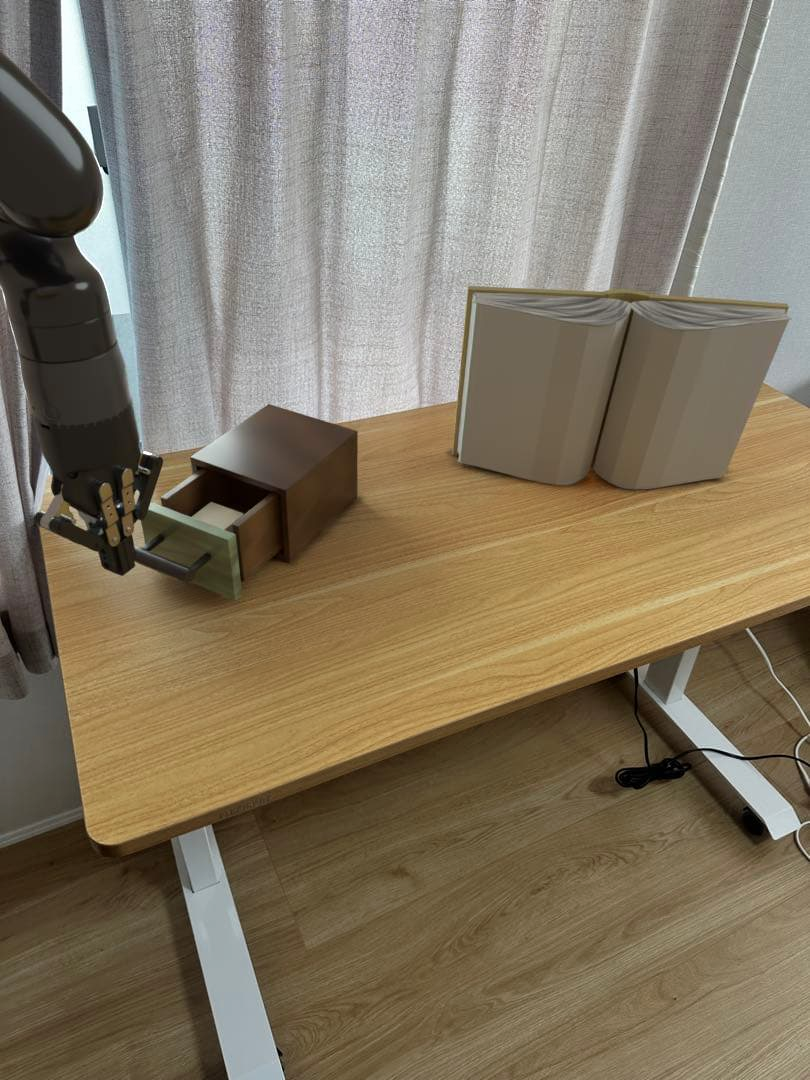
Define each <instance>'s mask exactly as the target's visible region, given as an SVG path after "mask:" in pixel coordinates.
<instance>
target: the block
mask: <svg viewBox="0 0 810 1080" xmlns="http://www.w3.org/2000/svg"><path fill="white" fill-rule="evenodd" d="M243 515H244V514H243V513H240V512H238V511H235V510H232V509H230V508H227V507H224V506H221V505H219V504H216V503H213V502H210V503H209V504H208V505H206V506H205V507H204V508H202V509H201V510H200V511H198V512H197V513H196V514H194V515H193V516H192V518H194V519H197V520H200V521H202V522H205V523H207V524H210V525H213V526H215V527H218V528H221V529H223V530H226V531H228V532H231V533H233V526H232V525H233V524H234V523H235V522H236V521H237V520H238V519H240V518H241V517H242V516H243Z"/></svg>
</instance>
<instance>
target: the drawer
mask: <svg viewBox="0 0 810 1080" xmlns="http://www.w3.org/2000/svg"><path fill="white" fill-rule="evenodd" d="M210 502H213V503H216V504H219V505H221V506H224V507H227V508H230V509H232V510H235V511H238V512H240V513H243V514H244V515H243V516H242V517H241V518H240V519H238V520H237V521H236V522H235V523H234V524H233V525H232V526H233V533H231V532H228V531H226V530H223V529H221V528H218V527H215V526H213V525H210V524H207V523H205V522H202V521H200V520H197V519H194V518H192V516H193V515H194V514H196V513H197V512H198V511H200V510H201V509H202V508H204V507H205V506H206V505H208V504H209V503H210ZM160 503H161V505H160V504H158V503H154V502H152V501H151V502H150V505H149V509H148V512H147V515H146V517H145V518H144V519H143V520H140V525H141V529H142V533H143V539H144V545H143V546H141V547H140V546H134V547H135V552H136V558H135V560H134V562H135V564H139V565H141V566H143V567H146V568H149V569H151V570H153V571H155V572H158V573H161V574H162V575H165V576H167V577H170V578H172V579H174V580H177V581H180V582H182V583H184V584H186V585H187V584H190V583H191V584H194V585H196V586H198V587H201V588H203V589H206V590H208V591H210V592H213V593H215V594H217V595H220V596H223V597H225V598H227V599H229V600H232V601H234V602H235V601H237V600H238V599H239V598H240V597H241V596H242V595H243V589H242V583H245V584H246V582H247V581H248V580H249V579H250V578H251V577H253V576H254V574H256V573H257V572H258V571H259V570H260V569H261V568H262V567H264V565H266V564H267V563H268V562H269V561H270V560H271V559H272V558H273V557H274V555H275V554H276V553H277V552H279V551H280V550H281V549H282V548H283V547H284V544H283V529H282V514H281V498H280V494H277V493H275V492H272V491H269V490H266V489H263V488H260V487H258V486H255V485H252V484H249V483H246V482H243V481H240V480H238V479H235V478H232V477H229V476H226V475H223V474H220V473H218V472H215V471H212V470H209V469H206V468H202V469H200V470H199V471H197V472H196V473H195V474H192V475H190V476H189V477H187V478H186V479H185V480H183V481H182V482H180V483H179V484H178V485H176V486H175V487H173V488H171V489H170V490H169V491H168V492H166V493H165V494H163V495H162V496H161V497H160Z"/></svg>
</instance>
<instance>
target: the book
mask: <svg viewBox="0 0 810 1080" xmlns="http://www.w3.org/2000/svg"><path fill="white" fill-rule="evenodd" d="M466 293H467V294H466V302H465V312H464V313H465V314H464V324H463V334H462V345H461V354H460V355H461V356H460V364H459V365H460V366H459V376H458V377H459V378H458V386H457V397H456V408H455V418H454V419H455V420H454V428H453V429H454V431H453V438H452V440H453V441H452V448H451V449H452V451H451V455H452V456H456V457H457V456H458V459H457V460H456V463H460V464H464V465H467V466H472V467H475V468H480V469H484V470H488V471H492V472H496V473H499V474H502V475H503V474H504V475H508V476H511V477H514V478H519V479H522V480H526V481H531V482H535V483H539V484H542V485H551V486H570V485H573V484H576V483H578V482H579V481H581V480H582V479H584V478H585V477H586V476H587V475H588V474H589V472H590V470H591V469H592V470H593V472H594V473H595V474H596V475H597V476H598V477H599V478H601V479H602V480H604V481H605V482H606V483H608V484H610V485H611V486H614V487H616V488H618V489H619V488H620V489H624V490H628V491H629V490H630V491H640V490H642V491H643V490H653V489H659V488H666V487H671V486H678V485H685V484H690V483H696V482H701V481H708V480H715V479H720V478H721V479H722V478H727V477H728V476H727V474H726V473H727V471H728V469H729V466H730V463H731V461H732V458H733V457H734V454H735V452H736V449H737V446H738V444H739V442H740V440H741V437H742V434H743V433H744V429H745V428H746V425H747V423H748V420H749V418H750V415H751V413H752V410H753V408H754V406H755V403H756V401H757V398H758V396H759V393H760V392H761V389H762V387H763V383H764V381H765V379H766V376H767V374H768V371H769V370H770V366H771V364H772V362H773V360H774V358H775V355H776V353H777V350H778V347H779V345H780V343H781V340H782V338H783V335H784V333H785V330H786V328H787V326H788V324H789V321H790V320H791V321H792V320H793V318H792V317H790V316H789V315H787V313H788V310H789V308H790V306H789V304H788V303H783V302H769V301H756V300H755V301H754V300H742V299H740V300H739V299H728V298H715V297H714V298H713V297H712V298H711V297H700V296H699V297H698V296H685V295H673V294H672V295H669V294H657V293H648V292H645V291H641V290H635V289H628V288H627V289H626V288H613V289H607V290H604V291H598V290H596V291H595V290H575V289H550V288H529V287H528V288H526V287H505V286H504V287H503V286H479V285H467V291H466Z"/></svg>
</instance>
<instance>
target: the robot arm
mask: <svg viewBox="0 0 810 1080" xmlns="http://www.w3.org/2000/svg"><path fill="white" fill-rule="evenodd" d="M104 183H105V182H104V178H103V173H102V169H101V167H100V164H99V162H98V159H97V157H96V155H95V153H94V151H93V149H92V148H91V146H90V145H89V143H88V141H87V140H86V138H85V137H84V136H83V134H82V133H81V132H80V130H79V129H78V128H77V127H76V125H75V124H74V123H73V122H72V120H71V119H70V118H68V116H67V115H66V114H65V112H63V110H61V108H59V106H58V105H57V104H56V103H55V102H54V101H53V100H52V99H51V98H50V97H49V96H48V95H47V94H46V93H45V92H44V91H43V90H42V89H41V88H40V86H38V85H37V84H36V83H35V82H34V81H33V80H32V79H31V78H30V77H29V76H28V75H27V74H26V73H25V72H24V71H23V69H21V68H20V67H19V66H18V65H17V64H16V63H15V62H14V61H13V60H12V59H11V58H10V57H8V56H7V55H6V54H5V53H4V52H3V51H2V50H1V49H0V289H1V291H2V295H3V299H4V304H5V309H6V313H7V316H8V320H9V323H10V326H11V327H10V328H11V331H12V334H13V338H14V342H15V346H16V349H17V353H18V358H19V366H20V367H19V369H20V375H21V381H22V385H23V389H24V392H25V396H26V399H27V403H28V407H29V410H30V414H31V417H32V422H33V425H34V428H35V432H36V436H37V439H38V442H39V446H40V450H41V454H42V456H43V458H44V460H45V462H46V463H47V465H48V466H49V468H50V471H51V475H52V477H51V483H50V490H51V494H52V495H53V499H52V500H51V502H50V504H49V506H48V508H47V510H46V511H44V510H39V511H38V512H36V513H35V515H34V517H33V523H34V524H35V525H36V526H38V527H40V528H43V529H45V530H47V531H49V532H51V533H53V534H56V535H57V536H60V537H62V538H64V539H65V540H68V541H70V542H72V543H74V544H77V545H80V546H82V547H85V548H87V549H89V550H90V551H92V552H95V553H98V557H99V560H100V564H101V567H102V568H103V569H104V570H106V571H109V572H111V573H113V574H115V575H118V576H120V577H123V576H125V575H126V574H127V573H129V572H130V571H132V569H134V568H135V567H136V562H134V560H135V558H136V552H135V547H136V546H135V543H134V538H133V534H134V531H135V524H136V523H137V521H141V520H143V519H144V518H145V517H146V515H147V512H148V509H149V505H150V502H152V499H153V496H154V494H155V493H154V492H155V490H156V486H157V483H158V480H159V477H160V474H161V471H162V468H163V465H164V460H163V457H162V456H161V455H157V454H154V453H151V452H148V451H145V450H142V449H140V442H141V441H140V434H139V433H140V432H139V428H138V423H137V417H136V414H135V413H136V412H135V407H134V403H133V397H132V392H131V387H130V382H129V376H128V370H127V367H126V362H125V359H124V357H123V353H122V351H121V348H120V345H119V341H118V338H117V332H116V327H115V322H114V315H113V312H112V311H113V310H112V306H111V300H110V297H109V293H108V289H107V285H106V282H105V280H104V277H103V275H102V273H101V272H100V270H99V269H98V267H97V266H96V265H95V264H94V263H93V262H92V261H91V260H90V259H88V257H87V256H86V255H85V254H84V253H83V251H82V250H81V248H80V246H79V244H78V242H77V240H76V238H75V237H76V236H78V235H80V234H82V233H84V232H85V231H87V230H88V229H89V228H90V227H91V226H93V224H94V223H95V222H96V221H97V219H98V217H99V215H100V213H101V211H102V208H103V205H104V198H105V184H104ZM137 491H138V493H139V494H138V498H137V501H135V494H136V492H137ZM70 507H71V508H72V509H74V510H76V511H77V514H78V516H79V517H80V519H82V520H83V522H84V524H85V527H86V529H83V528H82V527H79V526H78V525H76V524H77V519H76V518H74V514H73V513H72V512H71V511H70Z"/></svg>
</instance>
